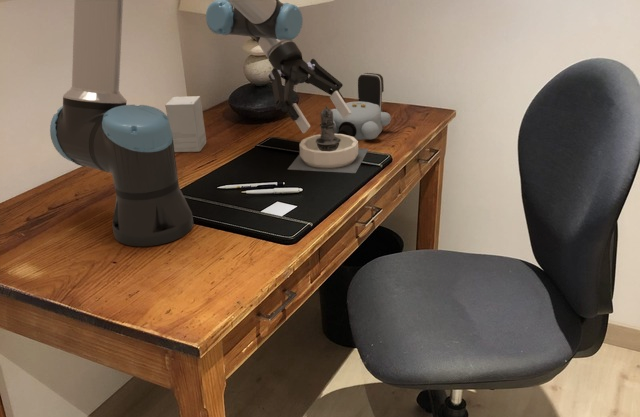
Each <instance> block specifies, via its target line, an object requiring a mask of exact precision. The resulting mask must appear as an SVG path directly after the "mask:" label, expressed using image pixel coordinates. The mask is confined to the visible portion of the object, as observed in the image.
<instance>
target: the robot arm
mask: <svg viewBox="0 0 640 417" xmlns="http://www.w3.org/2000/svg"><path fill="white" fill-rule="evenodd" d="M73 2H74V6H73V7H74V8H73V10H74V11H73V36H72V37H73V41H72V44H73V45H72V68H71V69H72V70H71V71H72V73H71V74H72V75H71V87H70V89H69V90H67V91H66V92H65V93H64V94H63V96H62V106H61V107H59V108H58V109H57V112H56V113H55V114H53V115H52V118H51V120H50V125H49V126H50V128H49V134H50V135H49V136H50V139H51V143H52V145H53V147H54V149H55V150H56V151H57V153H58V154H59V155H60V156H62V158H64V159H66V160H67V161H69V162H72V163H74V164H75V165H77V166H81V167H88V168H91V169H94V170H97V171H98V170H99V171H102V172H106V173H109V174H112V180H113V185H114V190H115V196H116V197H115V198H116V199H115V204H114V210H113V217H112V222H111V223H112V224H111V225H112V231H113V237H114V239H115V240H116V241H117V242H119V243H120V244H124V245H127V246H132V247H153V246H158V245H159V246H160V245H164V244H167V243H170V242H174V241H176V240H178V239H181V238H183V237H184V236H186V235H187V234H188V233H189V232H190V231H192V230H193V228H194V218H193V212H192V210H191V208H190V206H189V204H188V202H187V200H186V198H185V196H184V194H183V192H182V190H181V188H180V184H179V176H178V169H177V163H176V152H174V144H173V133H172V130H171V128H170V123H169V119H168V117H167V113H165V112H164V111H162V110H160V109H159V108H156V107H154V106H150V105H145V104H140V105H137V104H127V99H126V98H125V97H124V96H123V95H122V93H121V92H120V77H121V76H120V74H121V73H120V72H121V56H122V52H121V50H122V32H123V10H124V9H123V6H124V0H74V1H73ZM303 19H304V18H303V14H302V12H301V9H300V8H299V7H298V6H297V5H295V4H292V3H288V2H285V3H283V2H281V1H280V0H214V1H211V2H210V3H209V5H208V7H207V8H206V14H205V20H206V24H207V27H208V29H209V30H210V31H211V32H212V33H214V34H216V35H222V36H229V35H230V36H233V35H234V36H241V37H242V36H243V37H253V38H254V39H255V41H256V43H257V44H258V46H259V47H260V49H261V51H263V54H264V55H265V57H266V58H267V59H268V62H269V63H270V66H272V69H271V71H270V72H269V73H268V78H269V80H270V83H271V87H272V92H273V99H274V106H275V109H276V110H278V111H279V110H280V111H282V112H283V113H287V115H288V116H289V117H290V119H291V120H292V121H294V122H295V123H296V125H297V126H298V129H299V130H300V131H301V133H302V134H305V133H307V131H308V130H309V129H310V128H311V124H310V123H309V121H308V120H307V118H306V117H305V114H304V113H303V112H302V110H301V109H300V107H299V106H298V104H297V103H293V100H294V99H293V98H294V97H293V96H294V90H295V89H294V88H295V86H297V85H298V84H304V83H305V84H308V85H310V84H311V85H312V86H314V87H316V88H317V89H319V90H321V91H322V92H325V93H327V94H328V95H330V96H329V99H330V101H331V102H332V103H333V105H334V107H335V109H336V108H337V110H338V111H339V113H340V114H341V116H342V117H343V119H346V118H347V117H348V116H349V115H350V114H351V111H350V109H349V108H348V106H347V105H346V103H347V102H346V99H345V98H344V96H343V95H342V93H341V92H340V89H341V88H342V87H343V86H344V85H343V83H342V82H341V81H339V80H338V78H336V77H335V76H333V75H332V74H331V73H330V72H328V71H327V70H326V69H325V68H323V66H321V65H320V64H319V63H318V62H317V60H316V59H315V58H311V59H310V61H309V62H306V61H305V60H304V59H303V55H302V54H303V53H302V52H301V49H299V46H298V45H297V43H296V42H295V41H294V39H296V38H297V37H298V36H299V35H300V33H301V30H302V28H303ZM282 79H283V80H284V88H283V81H282Z"/></svg>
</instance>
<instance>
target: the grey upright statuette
mask: <svg viewBox="0 0 640 417" xmlns="http://www.w3.org/2000/svg"><path fill="white" fill-rule="evenodd" d="M320 122H321V123H320V124H319V127H320V132H321V137H320V138H318V139H316V143H317V146H318V148H319V149H320V150H321V151H335V150H336V149H337V148H338V146H339V142H340V139H339V138H338V137H335V135H334V126H335V124H334V123H333V112H332V110H331V108H329V106H328V105H325V108H324V109H323V110H321V112H320Z"/></svg>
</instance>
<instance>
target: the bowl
mask: <svg viewBox="0 0 640 417" xmlns="http://www.w3.org/2000/svg"><path fill="white" fill-rule="evenodd" d="M334 135H335V137H338V138H339V139H340V142H339V146H338V148H337V149H336V150H335V151H321V150H320V149H319V148H318V146H317V143H316V139H318V138H320V137H321V134H320V133H319V134H314V135H311V136H309V137H306V138H303V139H302V140H301V141H300V142H299V145H298V146H299V154H300V157H301V158H302V159H303V161H304V163H305V164H307V165H309V166H312V167H316V168H338V167H343V166H346V165H349V164H351V163H352V162H354V161H355V159H356V157H357V155H358V148H359V141H358V140H356V139H355V138H354V137H352V136H348V135H344V134H334Z"/></svg>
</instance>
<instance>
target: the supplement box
mask: <svg viewBox="0 0 640 417" xmlns="http://www.w3.org/2000/svg"><path fill="white" fill-rule="evenodd" d="M164 106H165V112H166V116H167V117H168V119H169V123H170V128H171V130H172V133H173V144H174V152H175V153H195V152H197V153H200V152H201V151H202V149H203V148H204V147H205V145H206V144H207V137H206V128H205V121H204V114H203V106H202V98H201V95H196V96H193V95H192V96H173V97H171V99H170V100H168V102H167V103H165V105H164Z"/></svg>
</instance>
